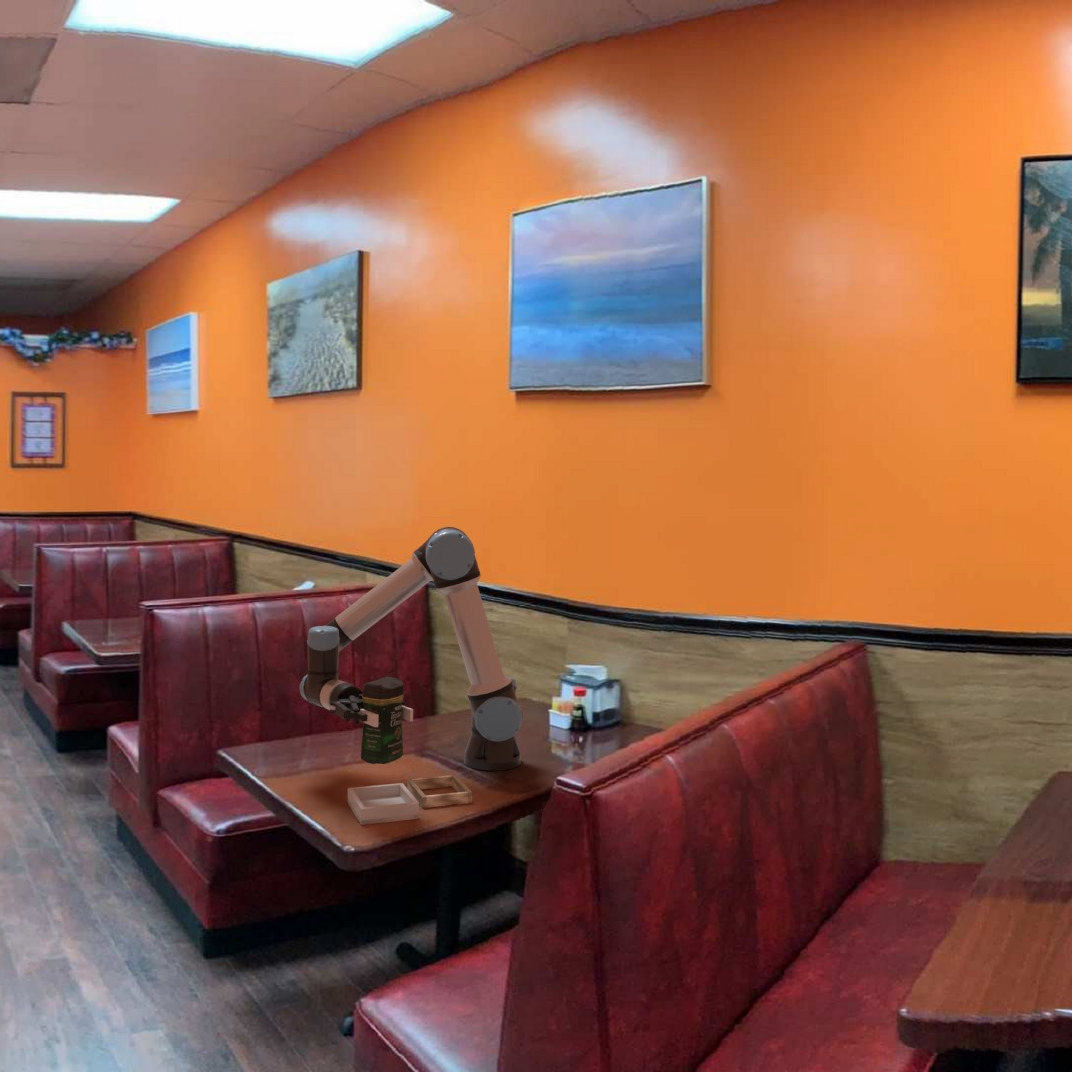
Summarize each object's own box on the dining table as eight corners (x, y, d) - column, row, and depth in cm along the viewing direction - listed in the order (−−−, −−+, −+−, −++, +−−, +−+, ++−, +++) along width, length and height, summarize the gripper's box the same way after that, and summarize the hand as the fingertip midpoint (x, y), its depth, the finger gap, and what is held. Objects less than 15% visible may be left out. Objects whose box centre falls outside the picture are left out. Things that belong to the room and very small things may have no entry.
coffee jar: (384, 767, 224) (385, 685, 223) (355, 762, 228) (356, 680, 226) (409, 756, 233) (410, 676, 231) (380, 751, 236) (381, 672, 235)
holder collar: (454, 784, 250) (454, 774, 250) (472, 802, 237) (472, 792, 237) (407, 789, 246) (407, 779, 246) (422, 808, 233) (422, 797, 233)
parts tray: (402, 797, 240) (402, 783, 240) (418, 818, 226) (419, 803, 226) (347, 802, 235) (347, 788, 235) (360, 824, 221) (361, 809, 221)
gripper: (380, 708, 250) (433, 727, 233) (302, 719, 236) (352, 742, 219) (380, 677, 249) (434, 695, 232) (302, 688, 236) (353, 707, 218)
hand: (394, 718), depth 226 cm, fingers closed on coffee jar, 8 cm apart
